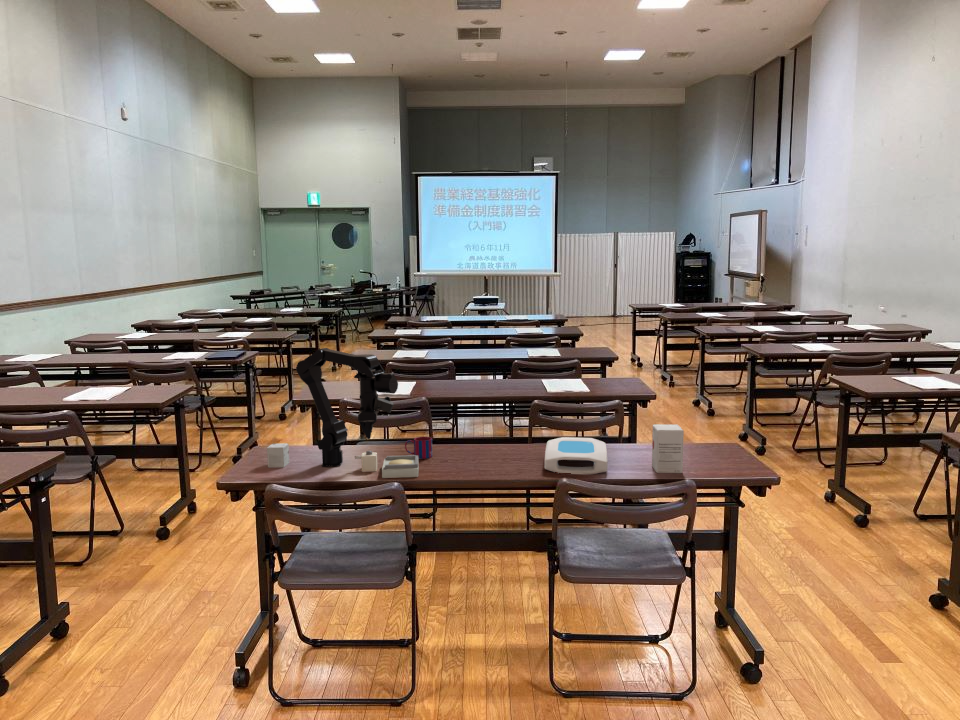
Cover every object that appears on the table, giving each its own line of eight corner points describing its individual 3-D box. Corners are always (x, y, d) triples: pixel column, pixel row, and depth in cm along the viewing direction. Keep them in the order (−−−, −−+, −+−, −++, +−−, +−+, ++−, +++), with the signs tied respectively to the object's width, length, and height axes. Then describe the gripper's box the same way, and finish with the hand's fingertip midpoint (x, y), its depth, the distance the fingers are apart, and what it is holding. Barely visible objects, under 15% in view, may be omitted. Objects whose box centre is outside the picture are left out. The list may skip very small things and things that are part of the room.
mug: (431, 459, 258) (431, 440, 257) (404, 459, 258) (403, 440, 257) (433, 454, 264) (432, 436, 263) (406, 454, 265) (406, 436, 264)
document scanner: (544, 473, 238) (544, 455, 238) (548, 452, 266) (548, 436, 265) (607, 475, 235) (607, 457, 235) (604, 454, 263) (604, 437, 262)
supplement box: (651, 465, 246) (651, 423, 244) (677, 466, 245) (678, 424, 243) (656, 473, 237) (657, 429, 235) (683, 473, 236) (684, 429, 234)
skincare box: (284, 467, 248) (283, 447, 247) (267, 467, 249) (266, 447, 248) (289, 463, 254) (288, 443, 253) (273, 463, 255) (272, 443, 254)
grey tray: (382, 478, 235) (381, 466, 234) (384, 466, 248) (384, 455, 248) (418, 476, 235) (418, 465, 235) (418, 465, 249) (418, 454, 249)
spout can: (354, 472, 242) (353, 453, 241) (355, 468, 247) (355, 450, 246) (376, 471, 243) (375, 453, 242) (377, 467, 248) (376, 449, 247)
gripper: (391, 396, 233) (392, 441, 235) (392, 386, 252) (393, 429, 254) (357, 396, 232) (358, 442, 234) (361, 387, 251) (362, 429, 253)
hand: (369, 435), depth 244 cm, fingers open, 9 cm apart
